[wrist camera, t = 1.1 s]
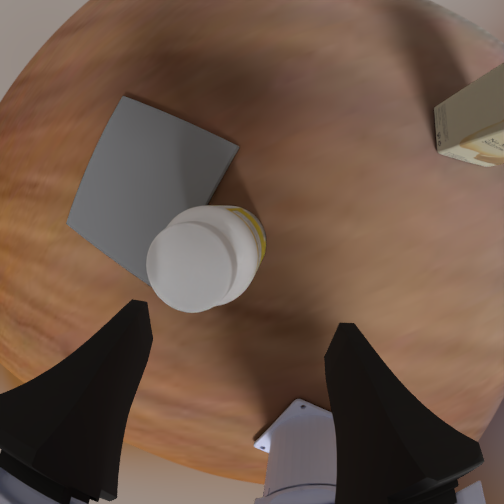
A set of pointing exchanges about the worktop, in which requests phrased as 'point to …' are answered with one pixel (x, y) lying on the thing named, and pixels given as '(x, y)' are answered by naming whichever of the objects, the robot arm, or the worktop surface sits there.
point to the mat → (145, 180)
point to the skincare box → (474, 121)
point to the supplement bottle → (206, 257)
